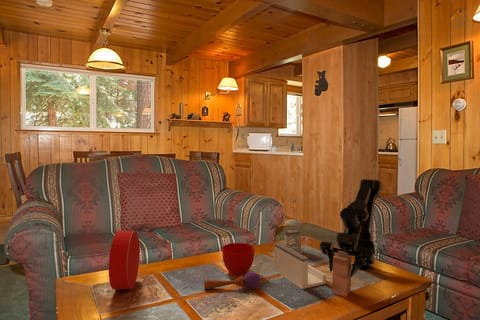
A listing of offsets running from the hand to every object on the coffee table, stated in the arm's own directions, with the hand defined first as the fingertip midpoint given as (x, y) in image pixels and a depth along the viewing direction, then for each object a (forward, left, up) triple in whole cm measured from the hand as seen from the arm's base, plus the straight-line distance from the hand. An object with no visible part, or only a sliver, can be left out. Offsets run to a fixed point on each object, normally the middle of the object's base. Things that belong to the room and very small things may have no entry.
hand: (340, 273), depth 118 cm
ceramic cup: (+20, -36, -7) cm, 42 cm away
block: (-1, -1, -7) cm, 7 cm away
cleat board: (+3, -18, -7) cm, 20 cm away
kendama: (+31, -22, -8) cm, 39 cm away
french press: (-16, -43, -7) cm, 46 cm away
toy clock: (+63, -43, -7) cm, 77 cm away
